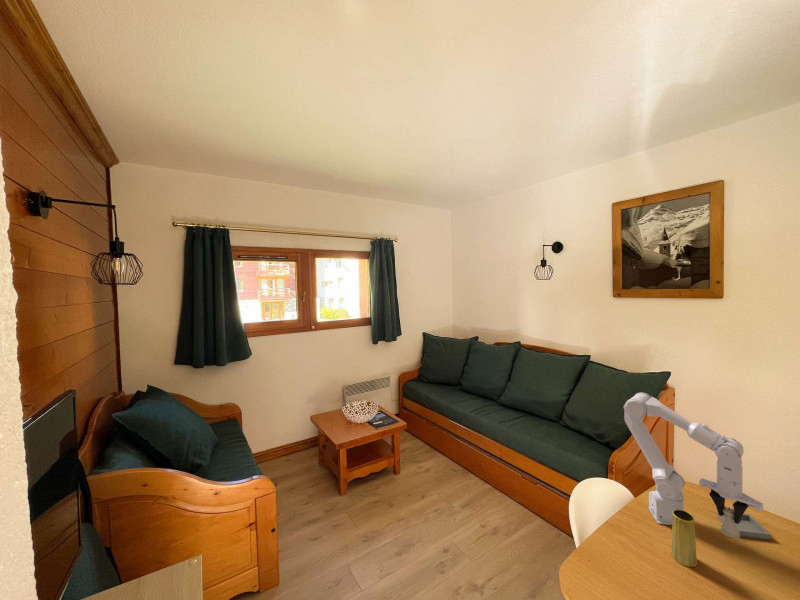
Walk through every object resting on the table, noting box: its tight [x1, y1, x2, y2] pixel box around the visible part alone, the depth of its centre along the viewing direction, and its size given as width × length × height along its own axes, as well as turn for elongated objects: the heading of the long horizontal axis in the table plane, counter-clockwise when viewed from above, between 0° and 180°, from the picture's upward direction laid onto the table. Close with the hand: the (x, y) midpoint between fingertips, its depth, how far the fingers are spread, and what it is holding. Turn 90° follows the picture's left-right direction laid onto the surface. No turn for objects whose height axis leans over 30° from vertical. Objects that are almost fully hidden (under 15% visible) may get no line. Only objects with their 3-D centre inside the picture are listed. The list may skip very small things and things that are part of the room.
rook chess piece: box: [720, 506, 740, 539], centre depth 105 cm, size 4×4×8 cm
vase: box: [670, 509, 698, 568], centre depth 101 cm, size 6×6×14 cm
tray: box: [717, 510, 771, 541], centre depth 111 cm, size 9×9×2 cm
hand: (729, 518), depth 105 cm, fingers closed on rook chess piece, 3 cm apart
